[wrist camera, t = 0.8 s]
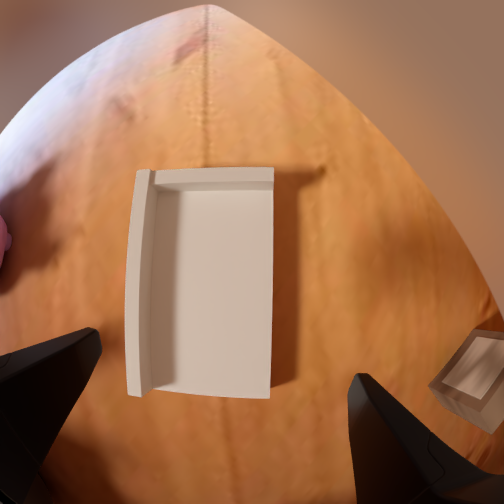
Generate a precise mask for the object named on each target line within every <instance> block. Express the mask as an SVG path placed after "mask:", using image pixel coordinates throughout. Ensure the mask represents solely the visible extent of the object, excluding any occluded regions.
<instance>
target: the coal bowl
mask: <svg viewBox="0 0 504 504" xmlns="http://www.w3.org/2000/svg"><path fill="white" fill-rule="evenodd" d="M0 504H17V503H15V502H14V501H13V500H12V499H10V498H9V497H8V496H7V495H6V494H4V493H3V492H2V491H1V490H0ZM23 504H54V503H53V500H52V498H51V495H50V493H49V491H48V489H47V487H46V485H45V484H44V482H43V480H42V479H41V477H40V476H39V475H38V474H37V476H36V478H35V480H34V482H33V484H32V486H31V488H30V490H29V492H28V495H27V497H26V499H25V501H24V503H23Z"/></svg>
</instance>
